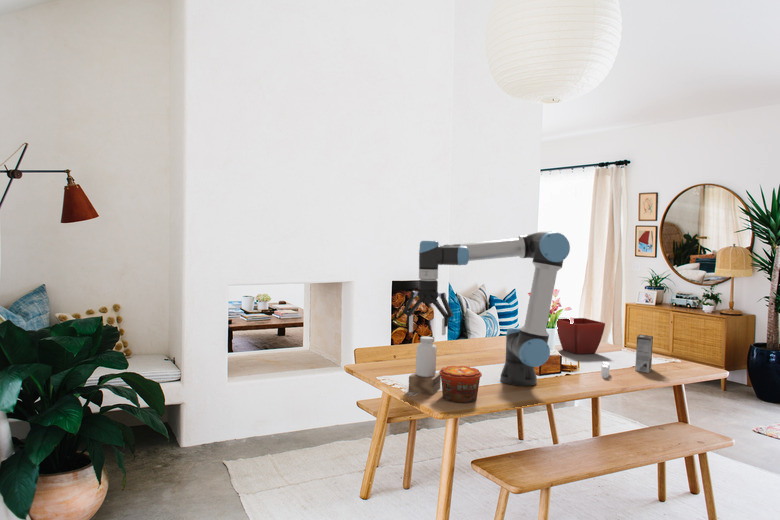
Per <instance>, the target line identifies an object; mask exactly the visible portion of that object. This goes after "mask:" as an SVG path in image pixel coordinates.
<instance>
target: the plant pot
mask: <svg viewBox="0 0 780 520" xmlns="http://www.w3.org/2000/svg"><path fill="white" fill-rule="evenodd" d="M572 318H573V317H572ZM557 319H558V321H557V327H558V329H557V327H556V331H557V335H558V339H559V342H560V345H561V348H562V350H563V351H567V352H569V353H573V354H575V355H576V354H577V355H581V354H595V353H596V352H597V350H598V348H599V346H600V343H601V341H602V337H603V335H604V331H605V327H606V323H605V322H601V321H598V320H594V319H590V318H585V317H576V318H575V317H574V318H573V319H574V323H573V324H570V320H569V319H567V318H557Z"/></svg>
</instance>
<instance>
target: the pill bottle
mask: <svg viewBox="0 0 780 520" xmlns="http://www.w3.org/2000/svg"><path fill="white" fill-rule="evenodd" d="M434 341H435V340H434V337H432V336H428V335H427V336H420V343H418V344H417V346H416V354H415V355H416V356H415V372H416V375H418V376H421V377H433V376H435V373H437V372H436V370H437V346H436V344H434Z"/></svg>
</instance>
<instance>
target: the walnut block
mask: <svg viewBox="0 0 780 520" xmlns="http://www.w3.org/2000/svg"><path fill="white" fill-rule="evenodd" d="M441 385H442V382H441V374H440V373H439V372H436V373H435V376H433V377H421V376H418V375H416V371H414V372H413V373H412V374H410V375H409V376H408V392H411V393H417V394H425V395H430V396H431V395H434V394H435V393H437V392H438V391H439V390H440V389H441Z"/></svg>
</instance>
